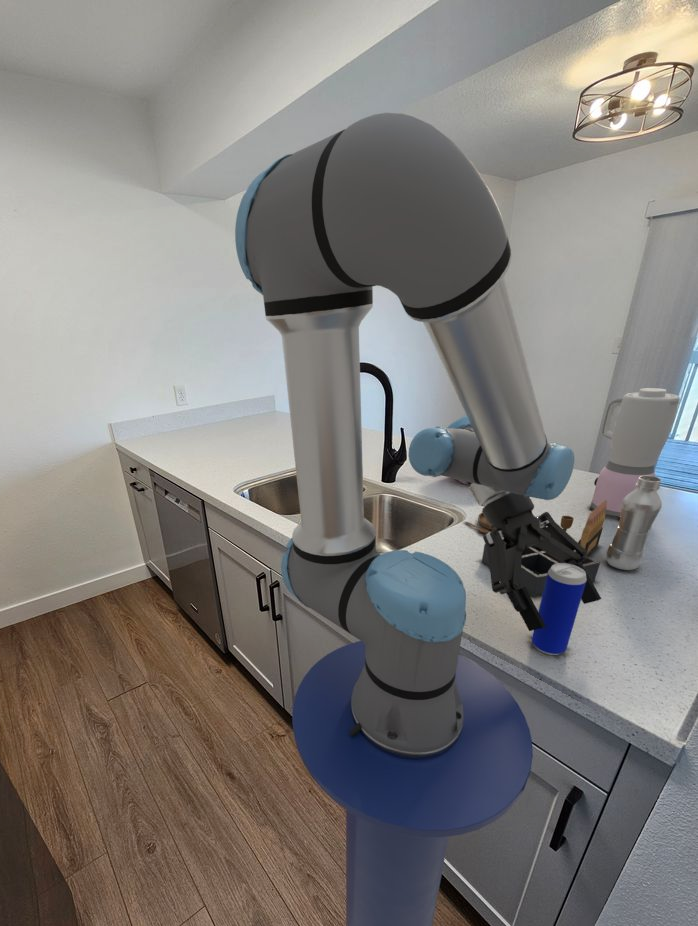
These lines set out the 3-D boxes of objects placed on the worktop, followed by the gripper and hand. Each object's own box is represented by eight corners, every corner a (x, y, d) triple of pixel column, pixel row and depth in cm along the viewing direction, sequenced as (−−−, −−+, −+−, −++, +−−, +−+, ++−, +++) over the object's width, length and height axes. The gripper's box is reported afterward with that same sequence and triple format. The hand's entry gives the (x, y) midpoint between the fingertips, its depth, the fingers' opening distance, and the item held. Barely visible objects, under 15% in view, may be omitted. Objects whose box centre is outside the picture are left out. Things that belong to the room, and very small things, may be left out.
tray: (532, 597, 86) (537, 577, 84) (481, 561, 99) (484, 543, 97) (594, 581, 90) (600, 562, 87) (536, 549, 103) (540, 531, 101)
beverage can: (550, 634, 76) (569, 559, 69) (573, 653, 72) (596, 576, 65) (524, 639, 75) (541, 565, 68) (545, 659, 71) (566, 581, 64)
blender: (655, 516, 115) (700, 389, 100) (623, 525, 111) (664, 395, 97) (599, 497, 128) (631, 383, 114) (568, 504, 125) (597, 388, 110)
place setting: (512, 511, 123) (516, 491, 120) (573, 540, 106) (579, 518, 103) (460, 522, 118) (462, 501, 116) (514, 554, 101) (519, 531, 99)
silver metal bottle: (642, 564, 94) (674, 477, 85) (635, 577, 90) (667, 486, 81) (607, 555, 98) (634, 471, 89) (599, 567, 94) (626, 479, 85)
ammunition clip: (582, 563, 96) (596, 513, 91) (573, 560, 97) (586, 511, 92) (597, 546, 102) (611, 499, 97) (588, 544, 104) (602, 497, 98)
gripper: (533, 492, 82) (593, 596, 77) (433, 524, 73) (494, 645, 68) (567, 473, 76) (635, 585, 70) (461, 505, 66) (531, 637, 61)
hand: (566, 614), depth 69 cm, fingers open, 13 cm apart
